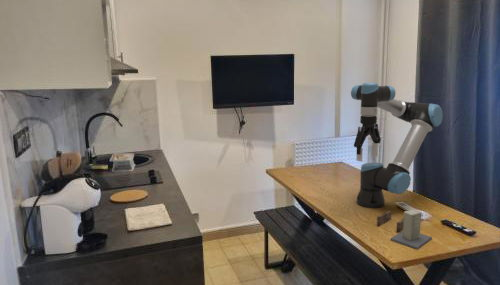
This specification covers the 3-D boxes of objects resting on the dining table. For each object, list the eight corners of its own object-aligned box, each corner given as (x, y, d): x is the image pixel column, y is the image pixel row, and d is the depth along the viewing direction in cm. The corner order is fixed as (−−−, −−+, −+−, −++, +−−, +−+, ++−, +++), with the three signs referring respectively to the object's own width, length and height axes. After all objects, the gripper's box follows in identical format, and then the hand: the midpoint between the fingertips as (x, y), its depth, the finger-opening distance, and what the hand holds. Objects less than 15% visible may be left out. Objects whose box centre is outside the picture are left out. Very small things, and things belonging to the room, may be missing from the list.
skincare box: (412, 234, 172) (414, 208, 170) (420, 238, 168) (422, 212, 166) (401, 236, 170) (403, 211, 167) (409, 240, 166) (411, 214, 163)
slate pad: (405, 230, 178) (405, 228, 178) (431, 239, 169) (431, 237, 169) (390, 240, 169) (390, 238, 169) (417, 249, 160) (417, 247, 160)
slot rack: (389, 218, 192) (389, 210, 191) (410, 225, 184) (411, 216, 183) (376, 225, 185) (377, 216, 184) (398, 232, 176) (398, 223, 176)
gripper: (361, 118, 171) (359, 164, 176) (389, 113, 188) (387, 155, 192) (346, 117, 177) (345, 161, 181) (375, 112, 193) (373, 152, 197)
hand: (367, 158), depth 187 cm, fingers open, 13 cm apart
